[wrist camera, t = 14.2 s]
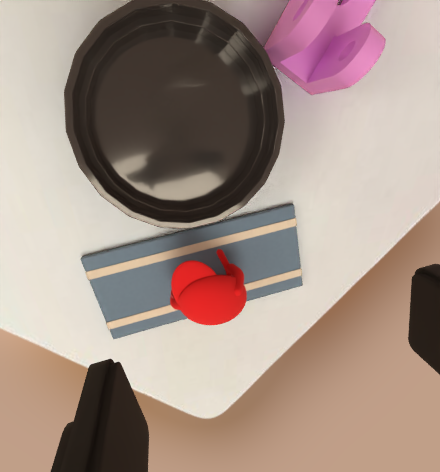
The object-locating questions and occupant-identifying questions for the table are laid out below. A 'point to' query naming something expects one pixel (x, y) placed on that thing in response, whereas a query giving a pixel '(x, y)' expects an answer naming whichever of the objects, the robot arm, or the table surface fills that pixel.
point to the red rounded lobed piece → (208, 291)
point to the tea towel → (198, 249)
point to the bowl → (174, 112)
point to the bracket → (325, 43)
